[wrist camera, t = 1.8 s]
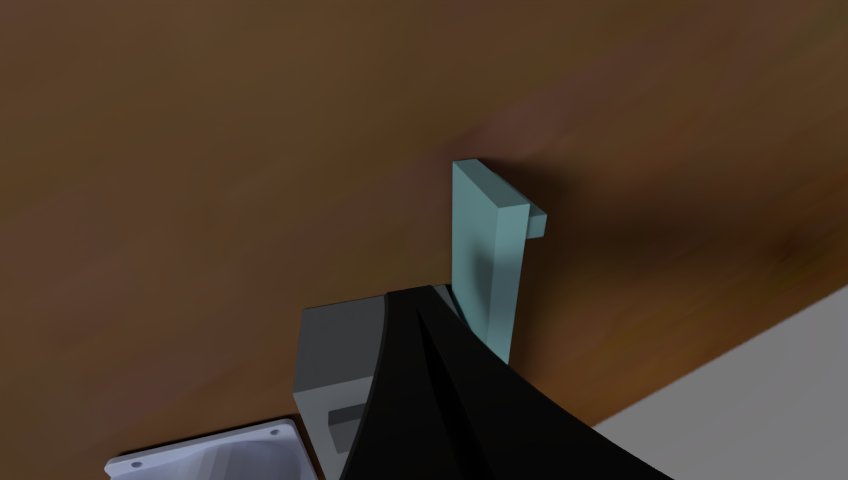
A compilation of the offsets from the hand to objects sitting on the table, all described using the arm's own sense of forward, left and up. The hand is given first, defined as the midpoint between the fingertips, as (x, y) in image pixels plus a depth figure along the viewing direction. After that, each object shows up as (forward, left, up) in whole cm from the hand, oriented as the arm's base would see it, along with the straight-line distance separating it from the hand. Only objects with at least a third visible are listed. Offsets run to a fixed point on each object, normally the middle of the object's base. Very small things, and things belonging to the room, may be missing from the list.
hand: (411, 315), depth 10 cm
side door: (+4, -5, -6) cm, 9 cm away
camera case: (-1, -9, -6) cm, 10 cm away
